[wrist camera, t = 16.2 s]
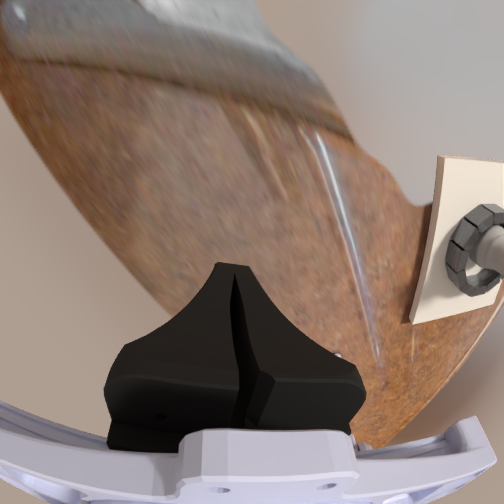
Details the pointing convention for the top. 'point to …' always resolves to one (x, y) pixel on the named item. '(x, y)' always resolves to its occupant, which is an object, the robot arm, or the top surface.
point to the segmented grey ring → (462, 246)
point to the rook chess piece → (490, 249)
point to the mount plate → (442, 227)
